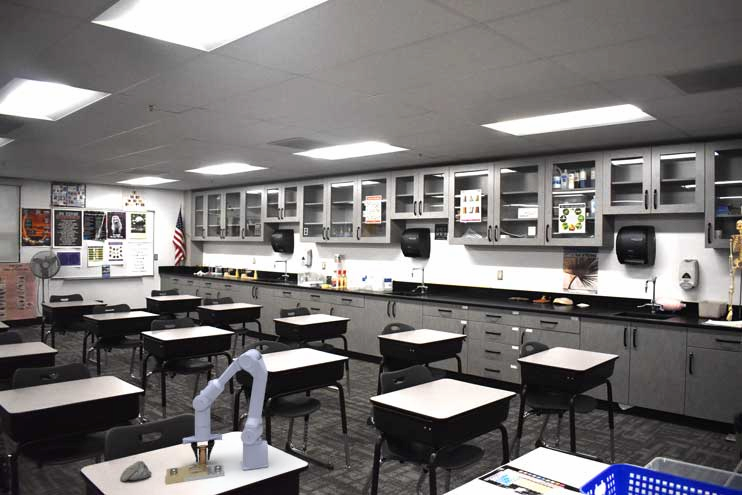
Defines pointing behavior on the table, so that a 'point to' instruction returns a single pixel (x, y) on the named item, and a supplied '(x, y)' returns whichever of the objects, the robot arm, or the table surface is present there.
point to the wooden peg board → (193, 473)
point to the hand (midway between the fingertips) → (202, 460)
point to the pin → (203, 454)
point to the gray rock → (135, 472)
